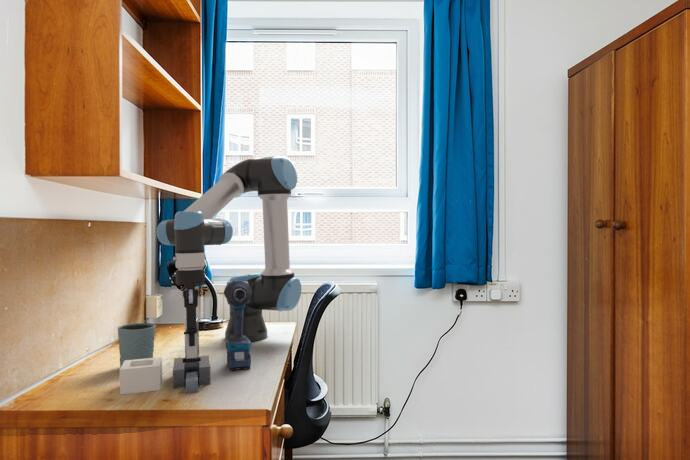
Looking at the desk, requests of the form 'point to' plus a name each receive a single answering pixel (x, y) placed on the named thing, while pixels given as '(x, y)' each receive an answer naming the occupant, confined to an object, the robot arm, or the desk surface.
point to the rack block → (141, 375)
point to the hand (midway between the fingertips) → (192, 355)
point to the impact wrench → (238, 325)
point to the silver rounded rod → (197, 343)
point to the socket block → (182, 368)
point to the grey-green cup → (136, 341)
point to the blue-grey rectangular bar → (191, 382)
